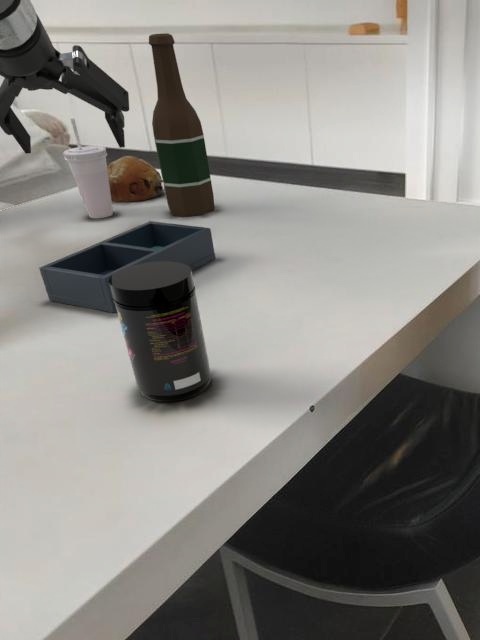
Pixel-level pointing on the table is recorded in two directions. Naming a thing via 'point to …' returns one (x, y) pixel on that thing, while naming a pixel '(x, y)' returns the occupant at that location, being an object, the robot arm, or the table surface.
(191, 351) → the supplement container
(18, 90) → the robot arm
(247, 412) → the table surface
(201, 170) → the beer bottle
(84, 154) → the smoothie
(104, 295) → the compartment tray
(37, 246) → the table surface
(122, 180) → the bread roll
